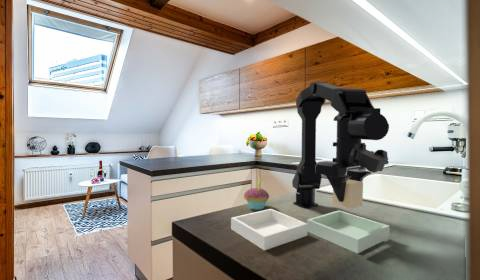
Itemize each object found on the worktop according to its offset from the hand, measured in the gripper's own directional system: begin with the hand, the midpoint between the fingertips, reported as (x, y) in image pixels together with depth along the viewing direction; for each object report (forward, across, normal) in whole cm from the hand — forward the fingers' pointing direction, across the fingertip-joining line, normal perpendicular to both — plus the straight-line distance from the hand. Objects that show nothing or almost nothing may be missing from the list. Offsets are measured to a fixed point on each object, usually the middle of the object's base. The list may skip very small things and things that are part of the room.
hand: (347, 199), depth 62 cm
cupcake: (+10, -6, +30) cm, 32 cm away
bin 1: (+10, -16, +12) cm, 22 cm away
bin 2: (+9, 0, 0) cm, 9 cm away
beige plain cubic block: (+1, 0, 0) cm, 1 cm away
